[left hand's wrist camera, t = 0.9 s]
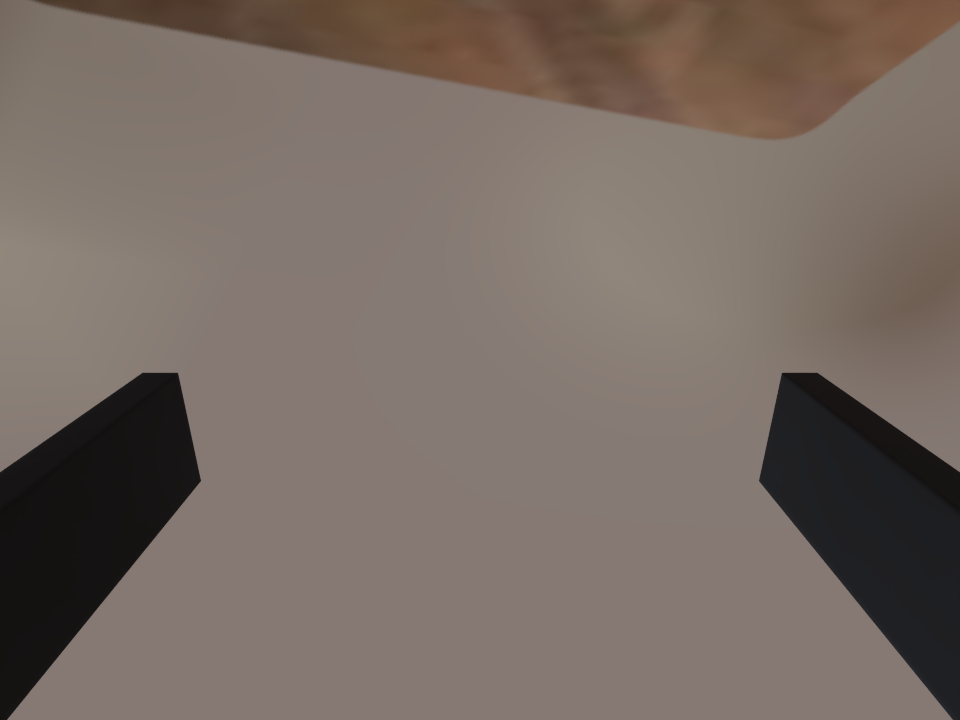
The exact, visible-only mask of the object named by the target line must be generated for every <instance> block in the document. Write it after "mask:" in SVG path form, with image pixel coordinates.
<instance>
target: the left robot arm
mask: <svg viewBox="0 0 960 720" xmlns="http://www.w3.org/2000/svg"><path fill="white" fill-rule="evenodd" d="M759 481H760V483H761V484H762V485H763V486H764V488H765V489H766V490H767V491H768V493H769V494H770V495H771V496H772V498H773V499H774V500H775V501H776V502H777V504H778V505H779V506H780V507H781V509H782V510H783V511H784V512H785V514H786V515H787V516H788V517H789V518H790V520H791V521H792V522H793V523H794V525H795V526H796V527H797V528H798V529H799V531H800V532H801V533H802V534H803V536H804V537H805V538H806V539H807V541H808V542H809V543H810V544H811V546H812V547H813V548H814V549H815V550H816V552H817V553H818V554H819V555H820V557H821V558H822V559H823V560H824V562H825V563H826V564H827V565H828V566H829V568H830V569H831V570H832V571H833V573H834V574H835V575H836V576H837V577H838V579H839V580H840V581H841V582H842V584H843V585H844V586H845V587H846V589H847V590H848V591H849V592H850V594H851V595H852V596H853V597H854V598H855V600H856V601H857V602H858V603H859V605H860V606H861V607H862V608H863V610H864V611H865V612H866V613H867V614H868V616H869V617H870V618H871V619H872V621H873V622H874V623H875V624H876V625H877V627H878V628H879V629H880V630H881V632H882V633H883V634H884V635H885V637H886V638H887V639H888V640H889V642H890V643H891V644H892V645H893V646H894V648H895V649H896V650H897V651H898V653H899V654H900V655H901V656H902V657H903V659H904V660H905V661H906V662H907V664H908V665H909V666H910V667H911V669H912V670H913V671H914V672H915V674H916V675H917V676H918V677H919V678H920V680H921V681H922V682H923V683H924V684H925V686H926V687H927V688H928V690H929V691H930V692H931V693H932V694H933V696H934V697H935V698H936V699H937V701H938V702H939V703H940V704H941V706H942V707H943V708H944V709H945V710H946V712H947V713H948V714H949V715H950V717H951V718H952V719H953V720H960V472H959V471H957V470H956V469H954V468H953V467H951V466H950V465H949V464H947V463H946V462H944V461H943V460H941V459H940V458H939V457H937V456H936V455H934V454H933V453H931V452H930V451H928V450H927V449H926V448H924V447H923V446H921V445H920V444H918V443H917V442H916V441H914V440H913V439H911V438H910V437H908V436H907V435H906V434H904V433H903V432H901V431H900V430H898V429H897V428H895V427H894V426H893V425H891V424H890V423H888V422H887V421H886V420H884V419H883V418H881V417H880V416H878V415H877V414H876V413H874V412H873V411H871V410H870V409H868V408H867V407H865V406H864V405H863V404H861V403H860V402H858V401H857V400H855V399H854V398H853V397H851V396H850V395H848V394H847V393H845V392H844V391H843V390H841V389H840V388H838V387H837V386H835V385H834V384H832V383H831V382H830V381H828V380H827V379H825V378H824V377H823V376H821V375H820V374H818V373H782V376H781V380H780V385H779V390H778V395H777V399H776V404H775V409H774V413H773V418H772V423H771V427H770V432H769V437H768V442H767V446H766V451H765V456H764V460H763V465H762V470H761V474H760V479H759ZM200 482H201V479H200V474H199V470H198V465H197V460H196V456H195V451H194V446H193V441H192V437H191V432H190V427H189V423H188V418H187V413H186V409H185V404H184V399H183V394H182V390H181V385H180V381H179V376H178V373H142V374H140V375H139V376H137V377H136V378H135V379H133V380H132V381H130V382H129V383H128V384H126V385H125V386H123V387H122V388H120V389H119V390H117V391H116V392H115V393H113V394H112V395H110V396H109V397H107V398H106V399H105V400H103V401H102V402H100V403H99V404H97V405H96V406H95V407H93V408H92V409H90V410H89V411H87V412H86V413H84V414H83V415H82V416H80V417H79V418H77V419H76V420H74V421H73V422H72V423H70V424H69V425H67V426H66V427H64V428H63V429H62V430H60V431H59V432H57V433H56V434H54V435H53V436H52V437H50V438H49V439H47V440H46V441H44V442H43V443H41V444H40V445H39V446H37V447H36V448H34V449H33V450H32V451H30V452H29V453H27V454H26V455H24V456H23V457H21V458H20V459H19V460H17V461H16V462H14V463H13V464H11V465H10V466H9V467H7V468H6V469H4V470H3V471H1V472H0V720H7V719H8V718H9V717H10V715H11V714H12V713H13V712H14V710H15V709H16V708H17V707H18V706H19V704H20V703H21V702H22V701H23V699H24V698H25V697H26V696H27V694H28V693H29V692H30V691H31V689H32V688H33V687H34V686H35V685H36V683H37V682H38V681H39V680H40V678H41V677H42V676H43V675H44V674H45V672H46V671H47V670H48V669H49V667H50V666H51V665H52V664H53V662H54V661H55V660H56V659H57V658H58V656H59V655H60V654H61V653H62V651H63V650H64V649H65V648H66V646H67V645H68V644H69V643H70V642H71V640H72V639H73V638H74V637H75V635H76V634H77V633H78V632H79V630H80V629H81V628H82V627H83V625H84V624H85V623H86V622H87V621H88V619H89V618H90V617H91V616H92V614H93V613H94V612H95V611H96V609H97V608H98V607H99V606H100V604H101V603H102V602H103V601H104V600H105V598H106V597H107V596H108V595H109V594H110V592H111V591H112V590H113V589H114V587H115V586H116V585H117V584H118V582H119V581H120V580H121V579H122V577H123V576H124V575H125V574H126V573H127V571H128V570H129V569H130V568H131V566H132V565H133V564H134V563H135V561H136V560H137V559H138V558H139V557H140V555H141V554H142V553H143V552H144V550H145V549H146V548H147V547H148V546H149V544H150V543H151V542H152V541H153V539H154V538H155V537H156V536H157V534H158V533H159V532H160V531H161V529H162V528H163V527H164V526H165V524H166V523H167V522H168V521H169V520H170V518H171V517H172V516H173V515H174V513H175V512H176V511H177V510H178V509H179V507H180V506H181V505H182V504H183V502H184V501H185V500H186V499H187V497H188V496H189V495H190V494H191V493H192V491H193V490H194V489H195V488H196V486H197V485H198V484H199V483H200Z"/></svg>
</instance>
